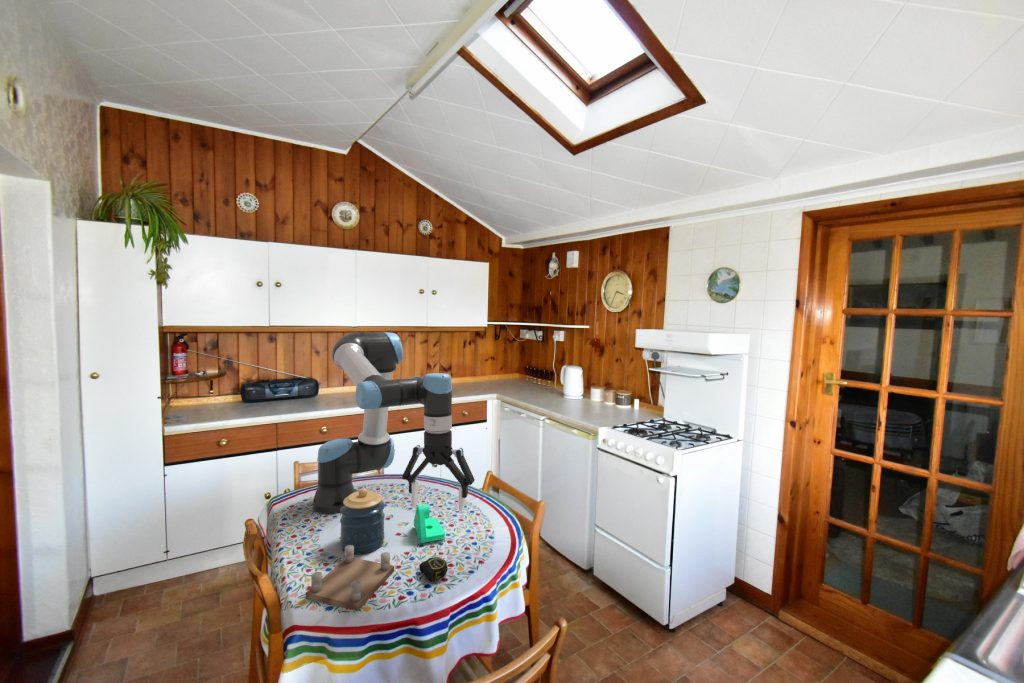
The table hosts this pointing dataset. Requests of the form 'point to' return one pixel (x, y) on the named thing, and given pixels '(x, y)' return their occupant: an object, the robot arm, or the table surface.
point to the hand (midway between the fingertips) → (438, 506)
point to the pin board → (350, 581)
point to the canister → (362, 521)
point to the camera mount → (427, 525)
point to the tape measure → (433, 569)
